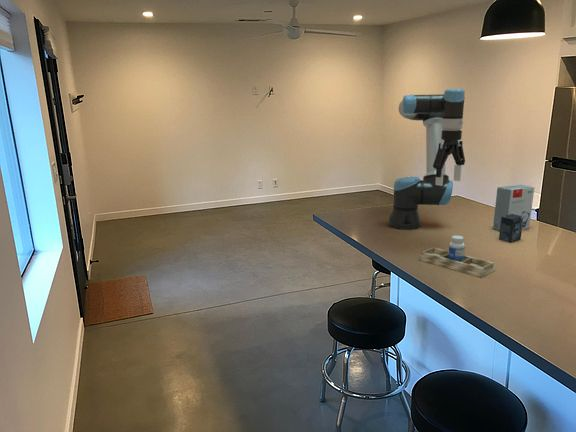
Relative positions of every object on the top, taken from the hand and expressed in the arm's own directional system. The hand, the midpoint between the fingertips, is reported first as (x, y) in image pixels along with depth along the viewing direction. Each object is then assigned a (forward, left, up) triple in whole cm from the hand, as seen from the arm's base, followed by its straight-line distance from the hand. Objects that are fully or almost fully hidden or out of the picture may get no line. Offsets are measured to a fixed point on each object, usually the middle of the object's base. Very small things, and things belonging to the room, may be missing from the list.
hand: (448, 183), depth 189 cm
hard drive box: (+8, +45, -27) cm, 53 cm away
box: (+15, +28, -27) cm, 42 cm away
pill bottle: (+15, -17, -26) cm, 34 cm away
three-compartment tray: (+15, -17, -27) cm, 35 cm away
